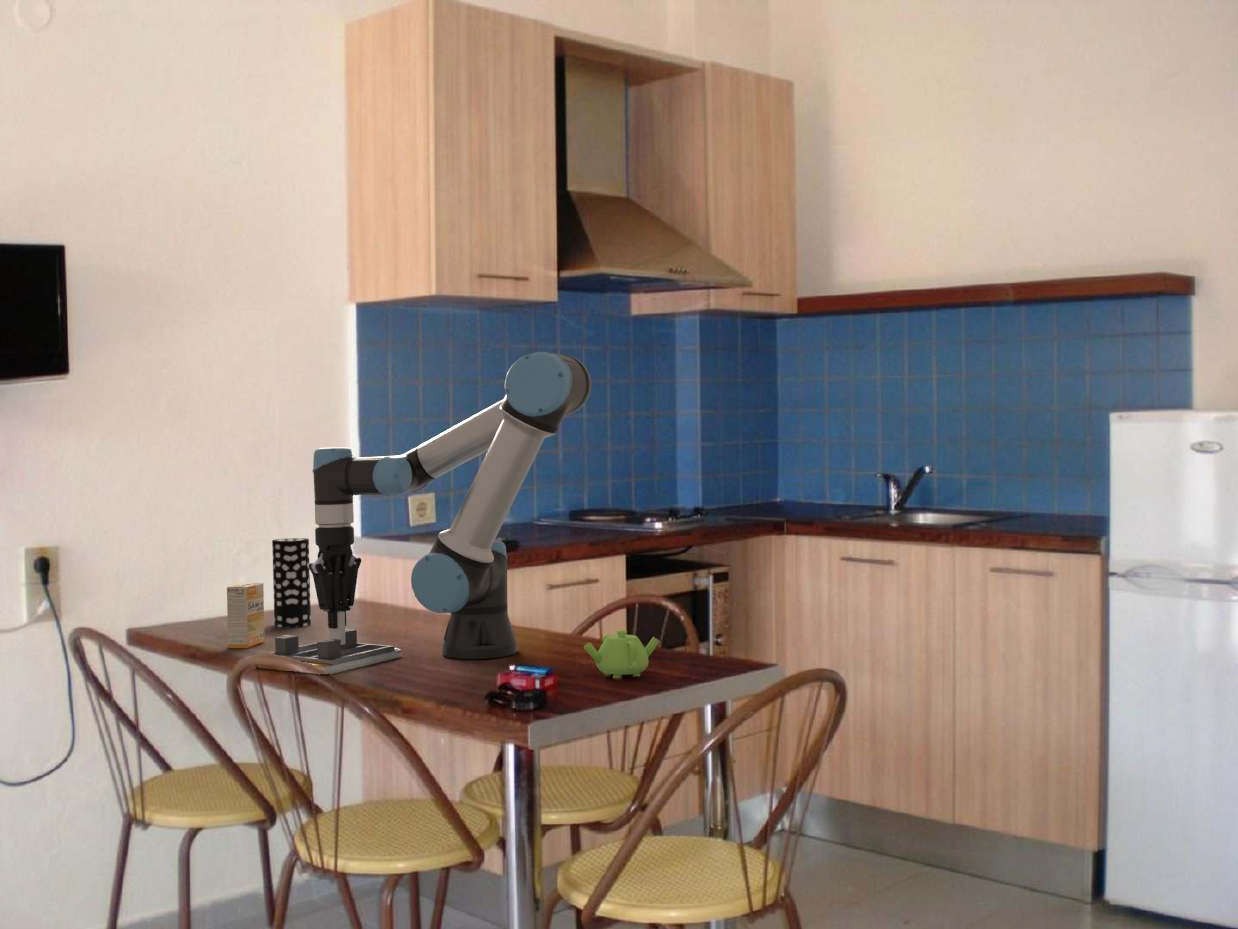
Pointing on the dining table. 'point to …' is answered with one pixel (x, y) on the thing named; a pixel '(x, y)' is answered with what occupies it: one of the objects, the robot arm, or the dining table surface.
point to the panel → (346, 656)
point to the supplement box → (245, 615)
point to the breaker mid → (350, 639)
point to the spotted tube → (291, 582)
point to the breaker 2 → (329, 649)
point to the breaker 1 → (286, 645)
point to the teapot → (622, 654)
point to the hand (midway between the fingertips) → (337, 644)
